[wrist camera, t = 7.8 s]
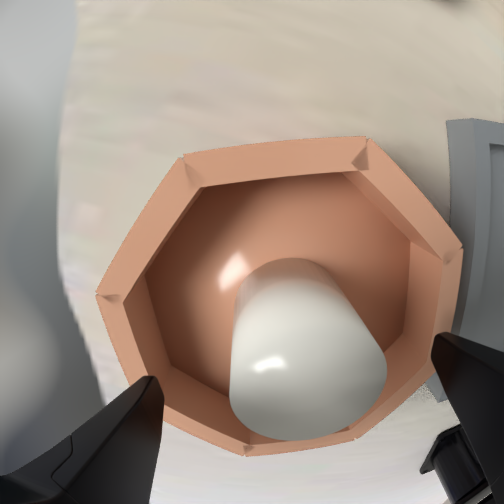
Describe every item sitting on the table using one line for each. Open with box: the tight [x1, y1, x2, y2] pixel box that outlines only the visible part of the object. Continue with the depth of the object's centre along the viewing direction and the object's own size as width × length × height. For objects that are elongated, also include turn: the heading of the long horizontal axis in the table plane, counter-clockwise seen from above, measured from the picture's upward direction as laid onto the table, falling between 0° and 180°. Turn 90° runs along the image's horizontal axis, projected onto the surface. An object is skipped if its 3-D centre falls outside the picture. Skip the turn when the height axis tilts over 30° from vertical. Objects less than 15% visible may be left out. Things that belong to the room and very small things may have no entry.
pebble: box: [229, 258, 387, 441], centre depth 10 cm, size 4×4×5 cm
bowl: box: [95, 136, 463, 457], centre depth 11 cm, size 13×13×4 cm
